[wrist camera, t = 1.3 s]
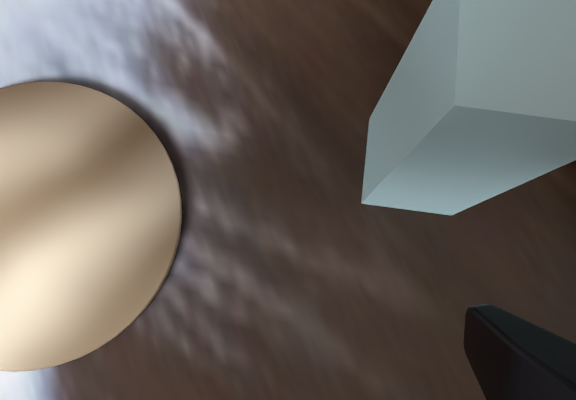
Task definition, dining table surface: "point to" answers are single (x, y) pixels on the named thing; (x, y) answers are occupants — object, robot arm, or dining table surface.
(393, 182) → the teal post
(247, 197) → the dining table surface
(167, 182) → the board
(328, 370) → the dining table surface
